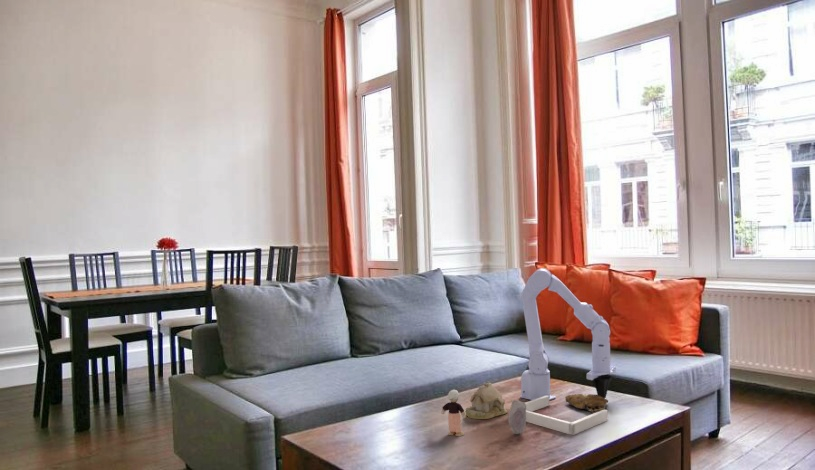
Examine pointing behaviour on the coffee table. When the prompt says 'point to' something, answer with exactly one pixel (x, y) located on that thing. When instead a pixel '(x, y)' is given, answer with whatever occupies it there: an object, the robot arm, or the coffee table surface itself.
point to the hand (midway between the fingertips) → (601, 397)
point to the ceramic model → (486, 403)
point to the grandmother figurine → (454, 413)
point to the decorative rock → (587, 402)
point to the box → (561, 424)
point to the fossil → (517, 416)
